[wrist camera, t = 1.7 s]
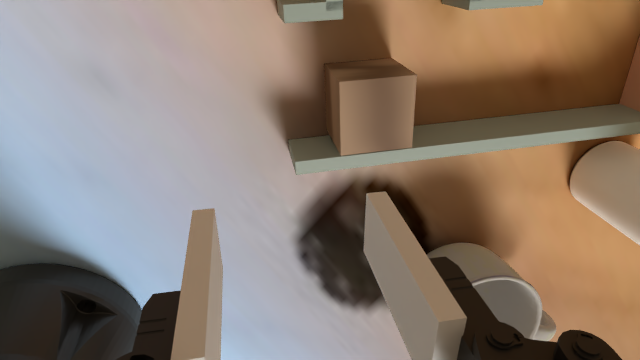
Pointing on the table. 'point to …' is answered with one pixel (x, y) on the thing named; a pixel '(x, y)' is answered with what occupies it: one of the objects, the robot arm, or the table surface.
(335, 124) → the block
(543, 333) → the teacup
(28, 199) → the table surface
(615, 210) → the can
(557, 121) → the box
